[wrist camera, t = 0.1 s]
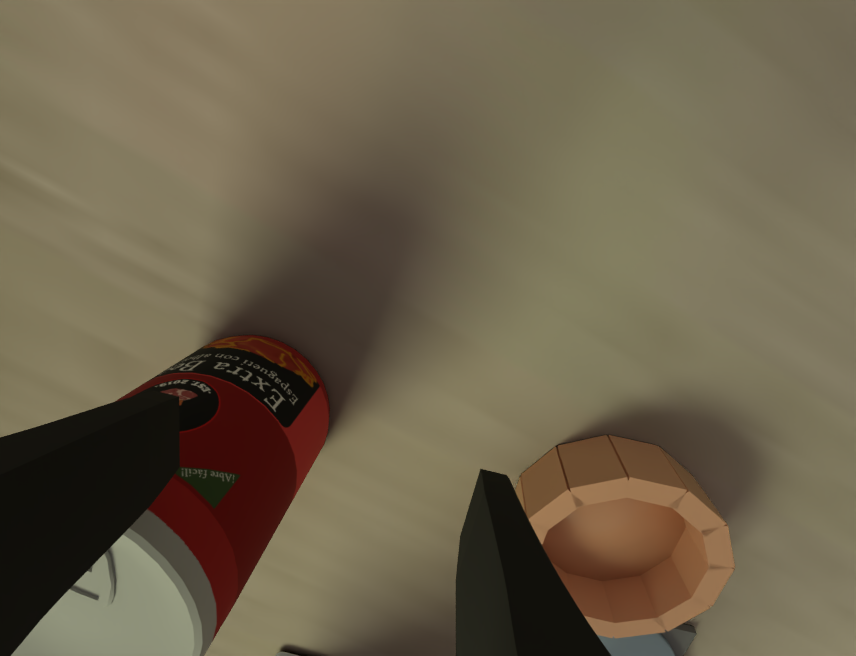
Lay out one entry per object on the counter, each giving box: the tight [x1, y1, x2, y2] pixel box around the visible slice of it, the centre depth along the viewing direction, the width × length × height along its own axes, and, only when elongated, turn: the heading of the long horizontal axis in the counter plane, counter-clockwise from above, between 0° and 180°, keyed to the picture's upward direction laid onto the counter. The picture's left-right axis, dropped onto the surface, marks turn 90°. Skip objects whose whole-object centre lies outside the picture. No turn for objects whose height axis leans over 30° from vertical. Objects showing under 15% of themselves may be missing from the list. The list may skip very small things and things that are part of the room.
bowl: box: [515, 435, 735, 638], centre depth 20 cm, size 9×9×3 cm
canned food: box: [11, 335, 330, 656], centre depth 17 cm, size 8×8×11 cm
